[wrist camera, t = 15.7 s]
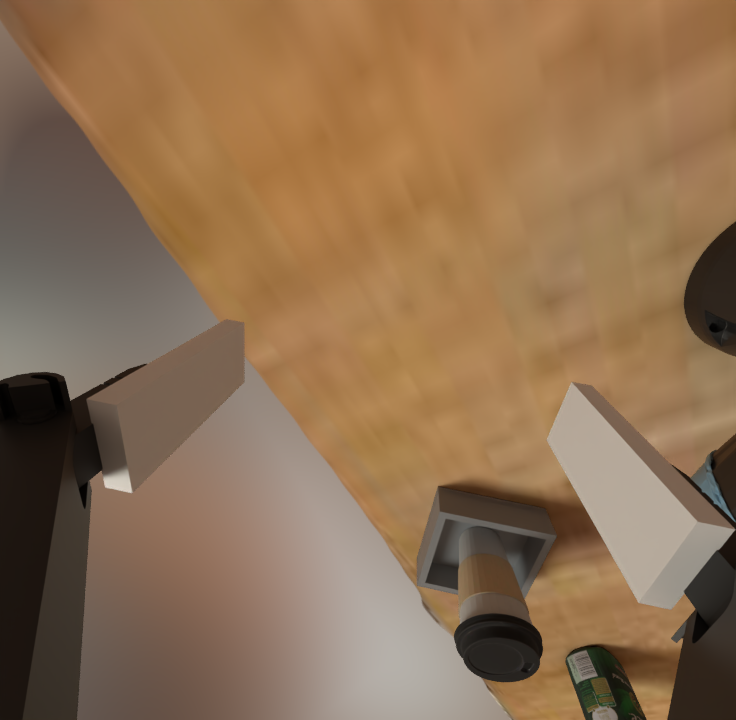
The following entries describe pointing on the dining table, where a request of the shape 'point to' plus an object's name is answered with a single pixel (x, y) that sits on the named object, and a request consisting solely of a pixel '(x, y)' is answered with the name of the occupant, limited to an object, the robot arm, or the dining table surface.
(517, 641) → the coffee cup
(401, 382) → the dining table surface
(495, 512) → the tray
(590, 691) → the coffee jar
